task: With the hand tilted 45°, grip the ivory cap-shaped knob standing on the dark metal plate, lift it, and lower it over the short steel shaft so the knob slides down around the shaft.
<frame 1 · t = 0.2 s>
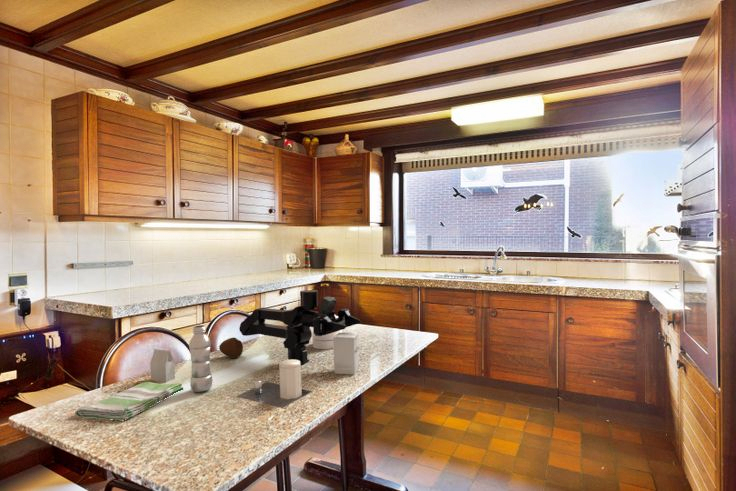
hand: (352, 324, 139), 17 cm above the table, tool horizontal, fingers open, 9 cm apart
dish towel: (133, 404, 120), on the table
plastic bottle: (201, 391, 127), on the table
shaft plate: (274, 396, 121), on the table
honey pot: (327, 345, 177), on the table
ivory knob: (290, 394, 120), point 1 cm above the table, touching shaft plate
grey gabled carton: (163, 380, 139), on the table
supplement box: (347, 371, 142), on the table
potato: (232, 358, 162), on the table
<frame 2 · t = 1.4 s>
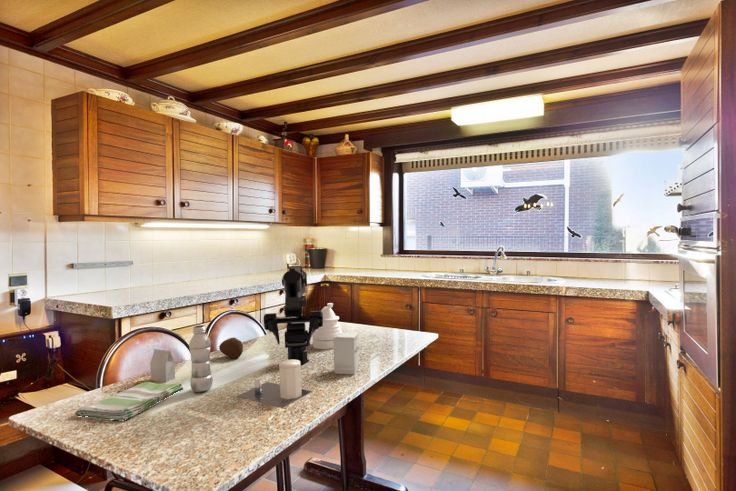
hand: (293, 342, 127), 14 cm above the table, tool tilted 45°, fingers open, 9 cm apart
nothing on the table moved.
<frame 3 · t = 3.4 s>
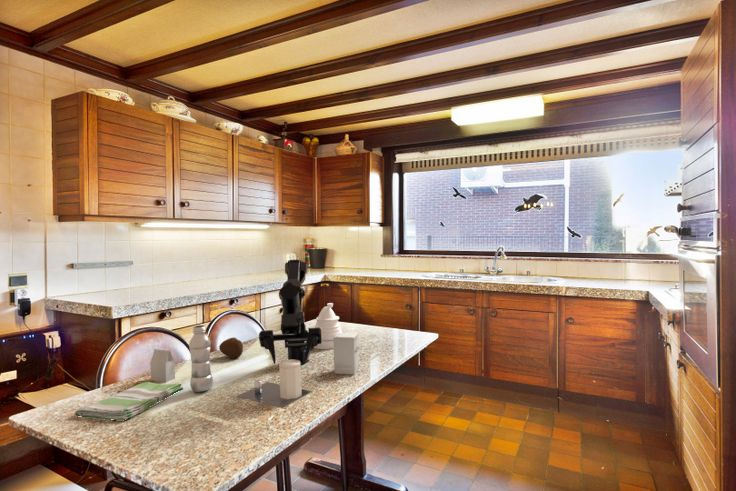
hand: (290, 362, 121), 10 cm above the table, tool tilted 45°, fingers open, 9 cm apart
nothing on the table moved.
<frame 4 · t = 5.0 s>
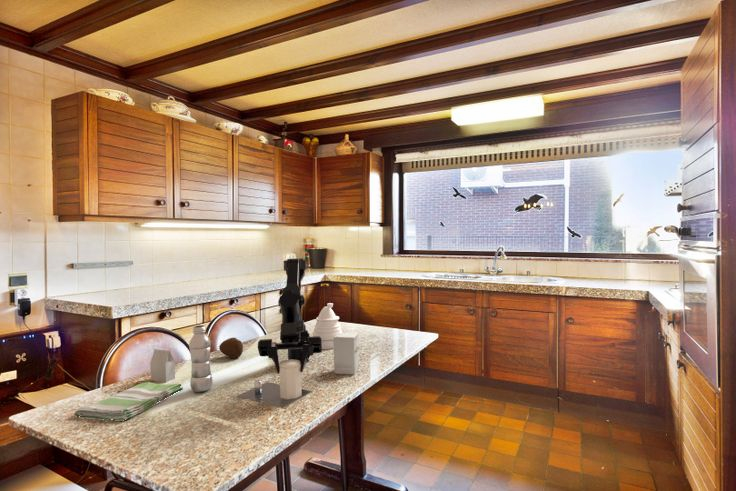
hand: (289, 372, 118), 8 cm above the table, tool tilted 45°, fingers closed on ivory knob, 6 cm apart
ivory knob: (290, 394, 120), point 1 cm above the table, touching gripper, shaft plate
everything else where it was.
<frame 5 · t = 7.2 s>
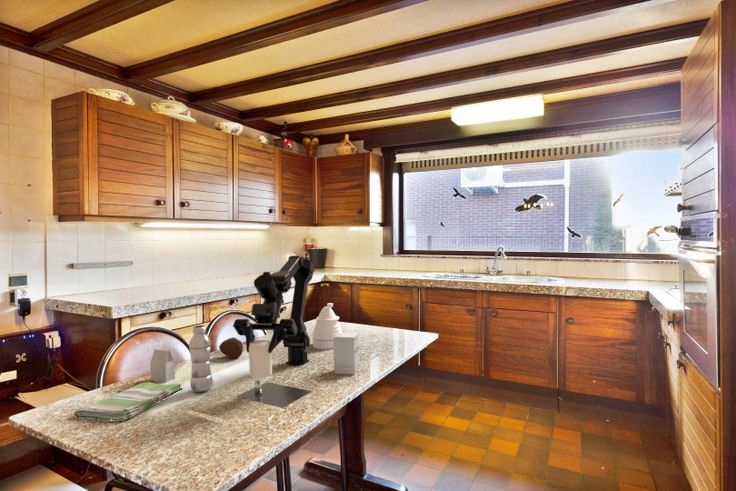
hand: (258, 352, 120), 13 cm above the table, tool tilted 45°, fingers closed on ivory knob, 6 cm apart
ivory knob: (261, 374, 122), point 6 cm above the table, touching gripper
everything else where it was.
when the fingers open (9 cm above the table, at t = 9.2 s): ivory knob drops 1 cm, resting on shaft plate.
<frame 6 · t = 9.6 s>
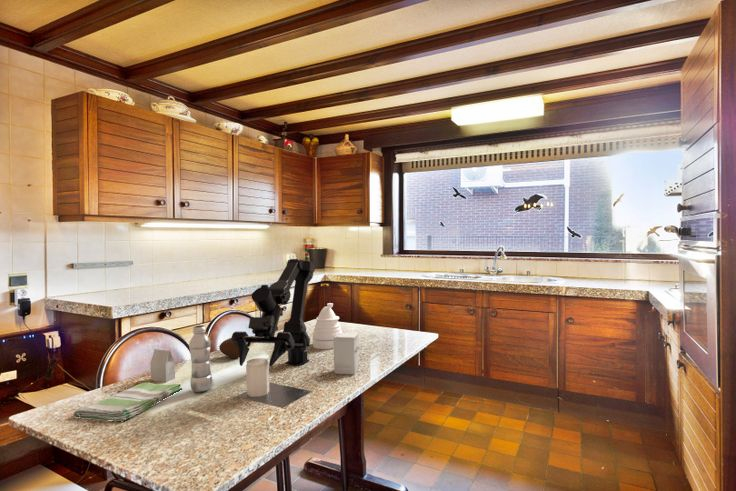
hand: (255, 365, 120), 9 cm above the table, tool tilted 45°, fingers open, 9 cm apart
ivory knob: (258, 392, 122), point 1 cm above the table, touching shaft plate
everything else where it was.
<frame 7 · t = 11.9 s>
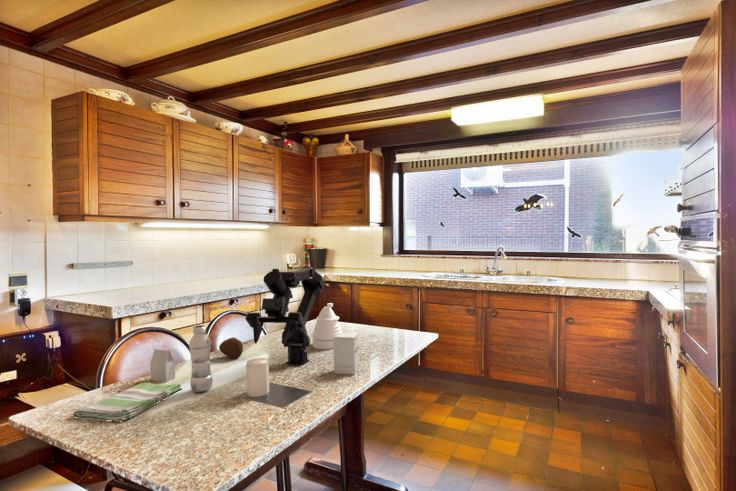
hand: (268, 343, 130), 13 cm above the table, tool tilted 45°, fingers open, 9 cm apart
nothing on the table moved.
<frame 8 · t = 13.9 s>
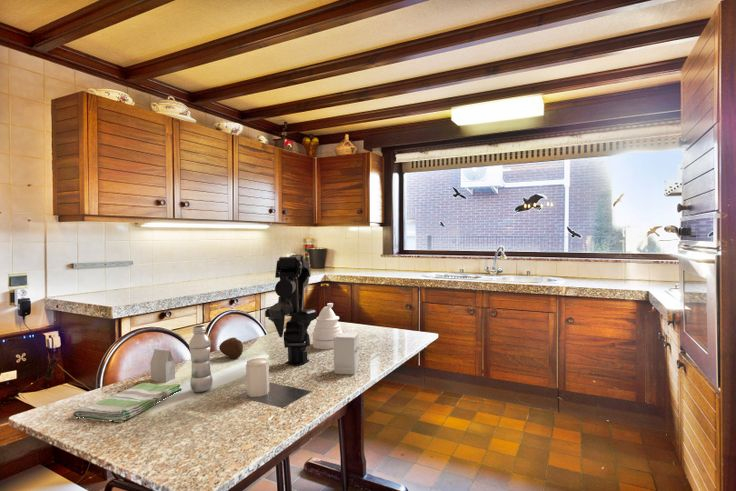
hand: (291, 338, 141), 12 cm above the table, tool pointing down, fingers open, 9 cm apart
nothing on the table moved.
at the end: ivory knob 0.0 cm from the target spot on the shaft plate, point 0.8 cm above the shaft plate's base; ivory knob tilted 0°; the gripper is holding nothing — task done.
